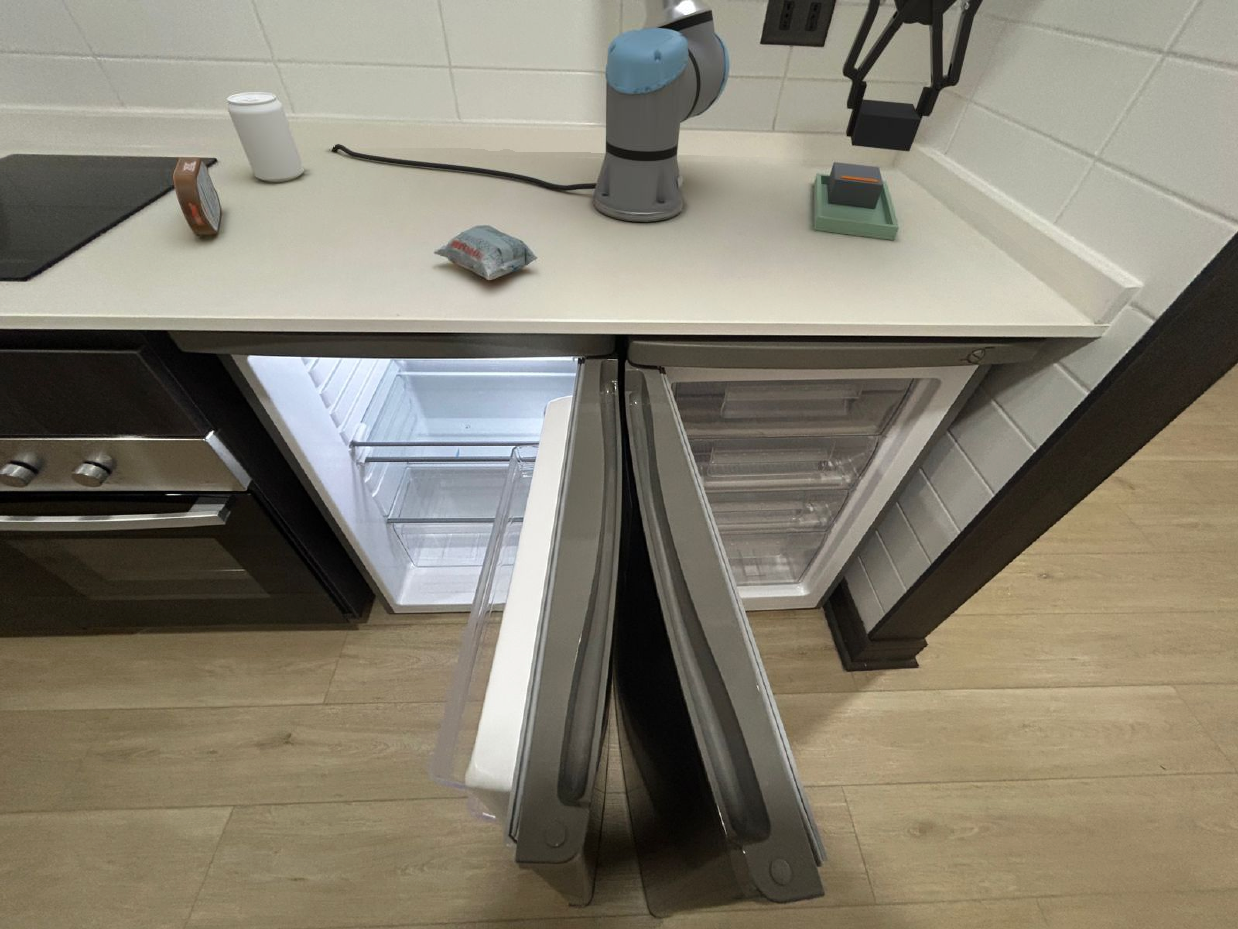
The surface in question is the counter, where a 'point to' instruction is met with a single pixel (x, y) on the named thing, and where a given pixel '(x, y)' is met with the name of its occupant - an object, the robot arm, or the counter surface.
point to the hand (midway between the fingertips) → (878, 137)
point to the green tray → (854, 214)
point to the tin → (197, 196)
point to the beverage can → (265, 136)
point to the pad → (854, 185)
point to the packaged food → (487, 252)
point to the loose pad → (885, 125)
